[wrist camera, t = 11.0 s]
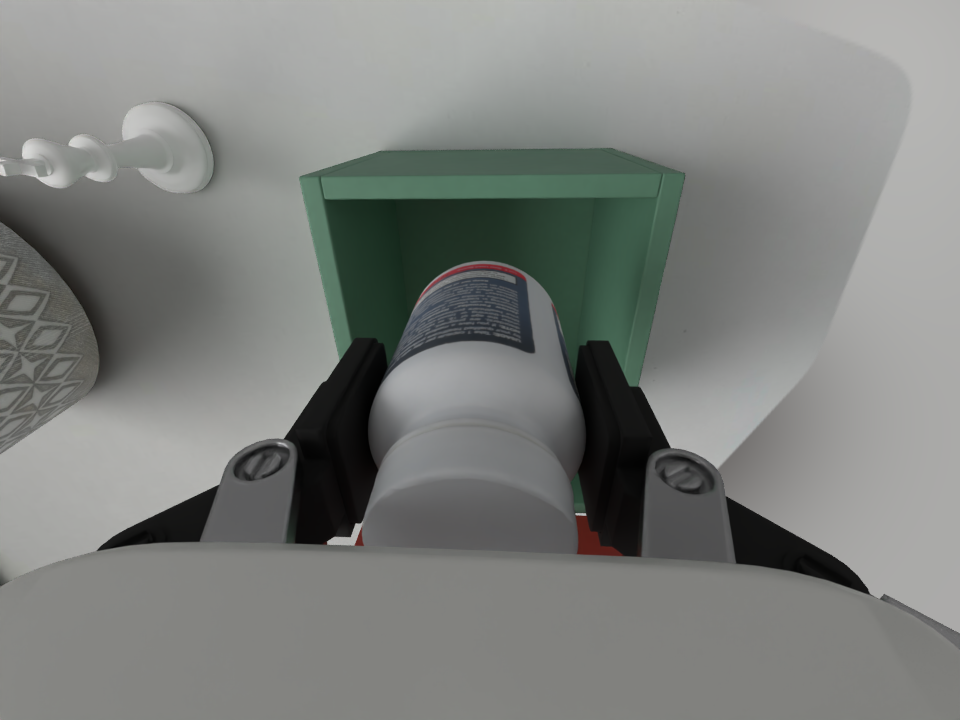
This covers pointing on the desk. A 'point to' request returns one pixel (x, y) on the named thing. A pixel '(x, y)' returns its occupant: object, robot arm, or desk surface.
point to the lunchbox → (497, 238)
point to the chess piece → (125, 153)
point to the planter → (39, 342)
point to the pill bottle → (477, 421)
